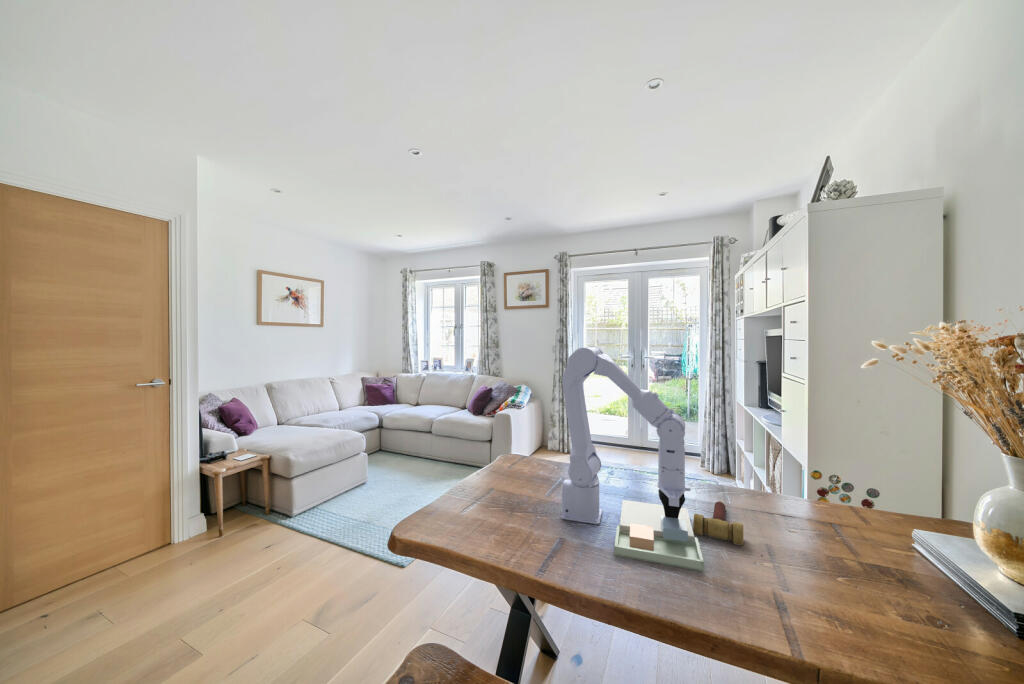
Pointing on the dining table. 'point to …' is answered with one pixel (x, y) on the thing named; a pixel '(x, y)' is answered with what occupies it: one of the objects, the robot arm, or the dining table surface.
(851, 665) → the dining table surface
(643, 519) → the board
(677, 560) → the tray
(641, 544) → the tile terracotta
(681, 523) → the tile slate
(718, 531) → the gavel
